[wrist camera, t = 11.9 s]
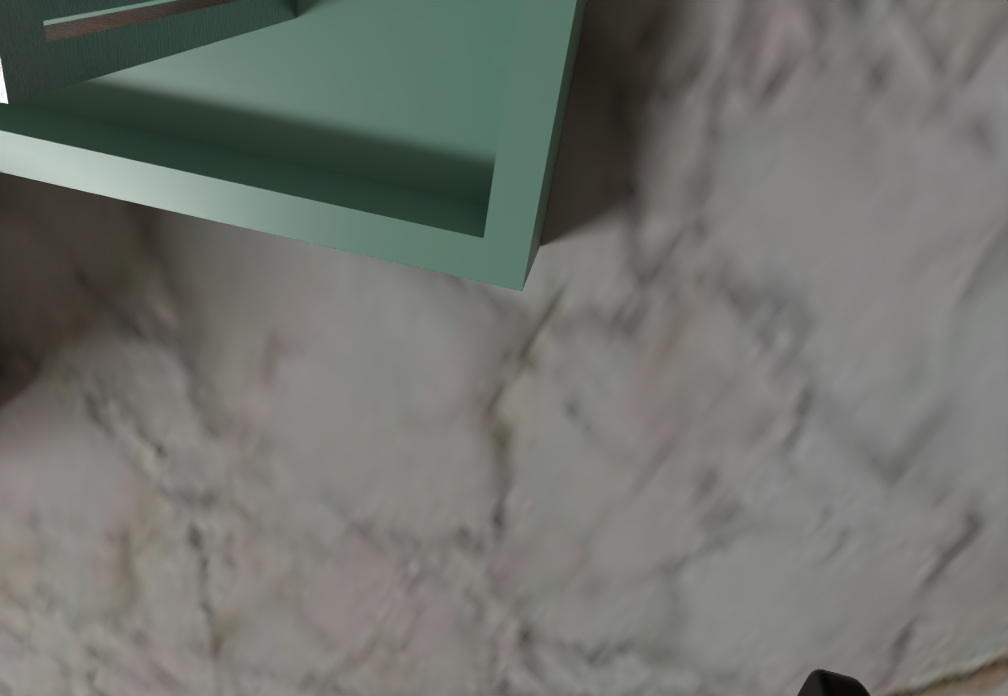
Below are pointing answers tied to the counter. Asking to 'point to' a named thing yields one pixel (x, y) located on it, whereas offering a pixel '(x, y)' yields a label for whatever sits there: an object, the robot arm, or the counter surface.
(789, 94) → the counter surface
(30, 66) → the cage
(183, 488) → the counter surface
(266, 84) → the tray
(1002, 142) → the counter surface
